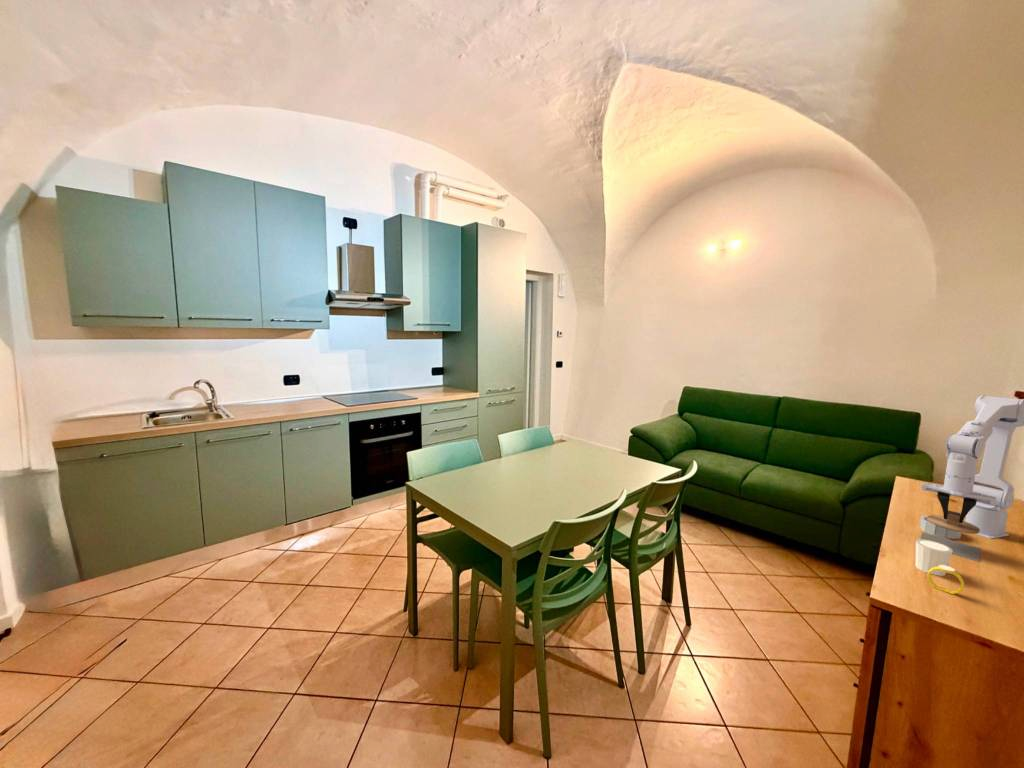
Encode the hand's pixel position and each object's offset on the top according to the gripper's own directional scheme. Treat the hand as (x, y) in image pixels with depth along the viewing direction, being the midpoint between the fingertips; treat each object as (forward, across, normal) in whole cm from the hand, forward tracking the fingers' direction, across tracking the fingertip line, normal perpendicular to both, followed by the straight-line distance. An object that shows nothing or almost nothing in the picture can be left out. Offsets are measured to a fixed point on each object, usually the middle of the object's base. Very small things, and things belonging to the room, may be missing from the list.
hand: (953, 520), depth 118 cm
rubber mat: (+8, 0, 0) cm, 8 cm away
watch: (+9, 0, -32) cm, 33 cm away
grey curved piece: (+8, -2, +11) cm, 14 cm away
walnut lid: (+2, 0, 0) cm, 2 cm away
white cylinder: (+9, -2, -22) cm, 24 cm away
